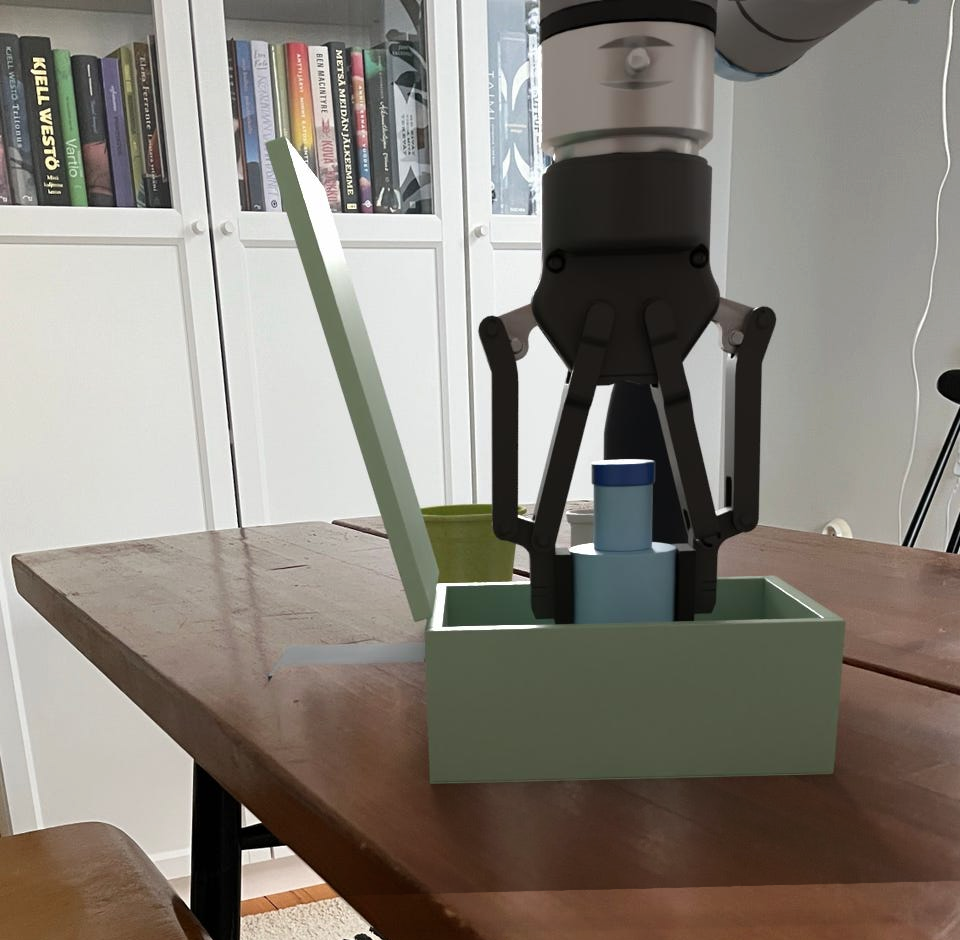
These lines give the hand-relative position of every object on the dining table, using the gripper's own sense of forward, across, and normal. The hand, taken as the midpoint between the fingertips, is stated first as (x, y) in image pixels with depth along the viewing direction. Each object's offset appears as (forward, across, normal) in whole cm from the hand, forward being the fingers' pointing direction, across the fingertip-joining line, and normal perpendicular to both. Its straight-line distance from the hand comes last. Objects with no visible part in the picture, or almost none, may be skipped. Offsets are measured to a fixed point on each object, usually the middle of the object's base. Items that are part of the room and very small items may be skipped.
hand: (621, 680), depth 63 cm
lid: (-14, -12, 0) cm, 18 cm away
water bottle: (+2, 0, 0) cm, 2 cm away
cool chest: (+4, 0, 0) cm, 4 cm away
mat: (+4, -16, +23) cm, 28 cm away
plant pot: (+4, -8, +39) cm, 40 cm away
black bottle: (+4, +5, +31) cm, 32 cm away
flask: (+4, 0, +21) cm, 21 cm away
